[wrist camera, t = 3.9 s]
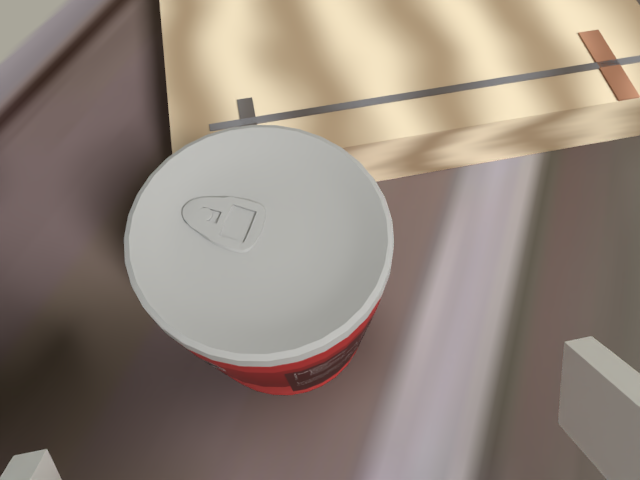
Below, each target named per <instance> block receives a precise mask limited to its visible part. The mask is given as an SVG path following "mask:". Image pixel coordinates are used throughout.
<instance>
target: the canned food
mask: <svg viewBox="0 0 640 480" xmlns="http://www.w3.org/2000/svg"><path fill="white" fill-rule="evenodd" d="M393 247H394V237H393V225H392V218H391V215H390V212H389V209H388V206H387V202H386V199H385V197H384V195H383V194H382V192H381V190H380V188H379V186H378V185H377V183H376V181H375V179H374V178H373V177H372V176H371V175H370V173H369V172H368V171H367V170H366V169H365V168H364V166H363V165H362V164H361V163H360V162H359V161H358V160H357V159H355V158H354V157H353V156H352V155H350V154H349V153H348V152H347V151H345V150H344V149H343V148H341V147H340V146H338V145H336V144H334V143H332V142H330V141H328V140H327V139H325V138H323V137H321V136H318V135H315V134H312V133H309V132H306V131H303V130H300V129H296V128H290V127H284V126H278V125H248V126H241V127H233V128H228V129H225V130H221V131H218V132H215V133H211V134H208V135H205V136H203V137H201V138H199V139H197V140H195V141H193V142H191V143H189V144H187V145H185V146H184V147H182V148H181V149H179V150H178V151H176V152H175V153H174V154H172V155H171V156H169V157H168V158H167V159H166V160H165V161H164V162H163V163H162V164H161V165H160V166H159V167H158V168H157V169H156V170H155V171H154V172H153V173H152V174H151V175H150V176H149V177H148V179H147V180H146V182H145V183H144V185H143V186H142V188H141V189H140V191H139V192H138V194H137V196H136V198H135V200H134V203H133V205H132V208H131V210H130V212H129V215H128V219H127V224H126V230H125V235H124V254H125V265H126V268H127V272H128V275H129V279H130V283H131V286H132V288H133V290H134V291H135V293H136V295H137V297H138V299H139V300H140V302H141V304H142V306H143V308H144V309H145V310H146V311H147V312H148V314H149V315H150V316H151V317H152V319H153V320H154V321H155V322H156V323H157V324H158V325H159V326H160V328H161V329H162V330H163V331H164V332H165V333H166V334H167V335H169V336H170V337H171V338H173V339H174V340H176V341H177V342H178V343H179V344H181V345H182V346H184V347H185V348H186V349H188V350H189V351H190V352H192V353H193V354H195V355H196V356H197V357H199V358H201V359H202V360H204V361H205V362H207V363H209V364H210V365H212V366H213V367H215V368H217V369H218V370H220V371H221V372H223V373H225V374H226V375H228V376H229V377H231V378H233V379H234V380H236V381H238V382H239V383H241V384H242V385H245V386H247V387H249V388H251V389H254V390H256V391H259V392H263V393H268V394H273V395H293V394H299V393H304V392H308V391H310V390H313V389H315V388H318V387H320V386H323V385H324V384H326V383H327V382H329V381H330V380H332V379H333V378H335V377H336V376H337V375H338V374H339V373H340V372H341V371H342V370H343V369H344V368H345V367H346V366H347V365H348V363H349V362H350V360H351V359H352V357H353V356H354V354H355V352H356V350H357V348H358V346H359V344H360V342H361V340H362V338H363V336H364V334H365V332H366V330H367V328H368V326H369V323H370V321H371V319H372V317H373V315H374V313H375V311H376V309H377V307H378V304H379V302H380V299H381V296H382V294H383V291H384V288H385V286H386V283H387V280H388V278H389V275H390V270H391V263H392V256H393Z"/></svg>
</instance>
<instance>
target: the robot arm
mask: <svg viewBox="0 0 640 480" xmlns="http://www.w3.org/2000/svg"><path fill="white" fill-rule="evenodd" d="M558 424H559V425H560V426H561V427H562V428H563V430H564V431H565V432H566V433H567V434H568V435H569V436H570V438H571V439H572V440H573V441H574V442H575V443H576V445H577V446H578V447H579V448H580V449H581V450H582V451H583V453H584V454H585V455H586V456H587V457H588V458H589V459H590V461H591V462H592V463H593V464H594V465H595V466H596V468H597V469H598V470H599V471H600V472H601V473H602V474H603V476H604V477H605V478H606V479H607V480H640V374H639V373H638V372H637V371H636V370H634V369H633V368H632V367H631V366H629V365H628V364H627V363H625V362H624V361H623V360H622V359H620V358H619V357H618V356H616V355H615V354H614V353H613V352H611V351H610V350H609V349H607V348H606V347H605V346H604V345H602V344H601V343H600V342H598V341H597V340H596V339H595V338H593V337H592V336H590V337H585V338H581V339H576V340H571V341H566V342H564V352H563V365H562V378H561V391H560V403H559V416H558ZM0 480H62V479H61V477H60V475H59V473H58V471H57V469H56V467H55V464H54V462H53V460H52V458H51V456H50V454H49V452H48V450H47V449H44V450H39V451H34V452H29V453H24V454H19V455H14V456H13V457H12V459H11V461H10V462H9V464H8V465H7V467H6V469H5V470H4V472H3V473H2V475H1V477H0Z"/></svg>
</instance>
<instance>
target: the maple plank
mask: <svg viewBox="0 0 640 480" xmlns="http://www.w3.org/2000/svg"><path fill="white" fill-rule="evenodd" d="M159 2H160V13H161V25H162V37H163V49H164V61H165V73H166V85H167V97H168V109H169V121H170V132H171V144H172V154H174V153H175V152H176V151H178V150H179V149H181V148H182V147H184V146H185V145H187V144H189V143H191V142H193V141H195V140H197V139H199V138H201V137H203V136H205V135H208V134H211V133H215V132H218V131H221V130H225V129H228V128H233V127H241V126H248V125H278V126H284V127H290V128H296V129H300V130H303V131H306V132H309V133H312V134H315V135H318V136H321V137H323V138H325V139H327V140H328V141H330V142H332V143H334V144H336V145H338V146H340V147H341V148H343V149H344V150H345V151H347V152H348V153H349V154H350V155H352V156H353V157H354V158H355V159H357V160H358V161H359V162H360V163H361V164H362V165H363V166H364V168H365V169H366V170H367V171H368V172H369V173H370V175H371V176H372V177H373V178H374V179H375V181H376V182H377V181H382V180H388V179H394V178H400V177H405V176H411V175H417V174H422V173H428V172H434V171H439V170H445V169H451V168H456V167H462V166H468V165H473V164H479V163H485V162H491V161H496V160H502V159H508V158H513V157H519V156H525V155H530V154H536V153H542V152H547V151H553V150H559V149H564V148H570V147H576V146H582V145H587V144H593V143H599V142H604V141H610V140H616V139H621V138H627V137H633V136H638V135H640V5H639V4H638V3H637V1H636V0H159Z"/></svg>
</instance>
